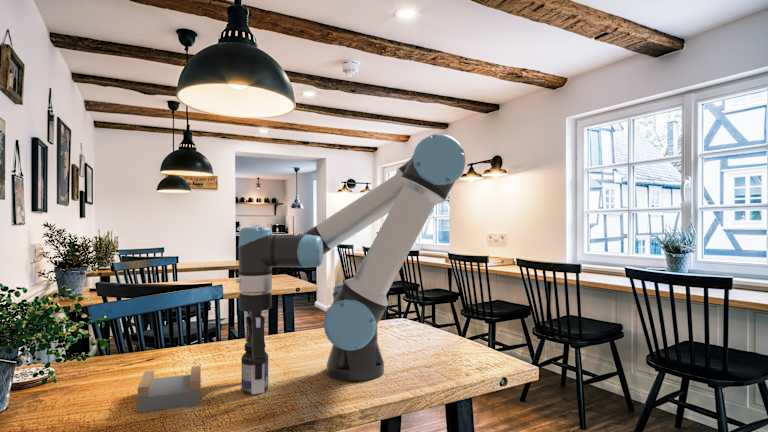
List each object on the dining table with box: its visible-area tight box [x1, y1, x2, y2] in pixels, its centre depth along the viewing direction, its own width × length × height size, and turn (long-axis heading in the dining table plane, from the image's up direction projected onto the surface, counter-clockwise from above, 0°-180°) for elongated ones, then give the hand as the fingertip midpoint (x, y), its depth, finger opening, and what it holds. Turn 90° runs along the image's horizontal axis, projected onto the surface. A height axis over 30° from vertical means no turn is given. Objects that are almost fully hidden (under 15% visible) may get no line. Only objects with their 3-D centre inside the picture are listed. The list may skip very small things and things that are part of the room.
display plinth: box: [136, 365, 202, 414], centre depth 102 cm, size 12×12×5 cm
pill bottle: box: [241, 342, 269, 396], centre depth 106 cm, size 6×6×11 cm
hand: (255, 382), depth 106 cm, fingers open, 13 cm apart
